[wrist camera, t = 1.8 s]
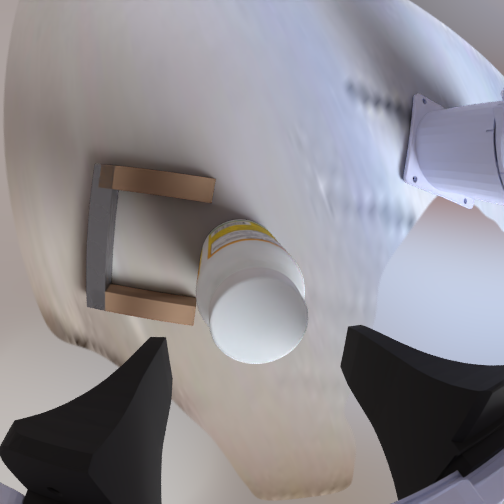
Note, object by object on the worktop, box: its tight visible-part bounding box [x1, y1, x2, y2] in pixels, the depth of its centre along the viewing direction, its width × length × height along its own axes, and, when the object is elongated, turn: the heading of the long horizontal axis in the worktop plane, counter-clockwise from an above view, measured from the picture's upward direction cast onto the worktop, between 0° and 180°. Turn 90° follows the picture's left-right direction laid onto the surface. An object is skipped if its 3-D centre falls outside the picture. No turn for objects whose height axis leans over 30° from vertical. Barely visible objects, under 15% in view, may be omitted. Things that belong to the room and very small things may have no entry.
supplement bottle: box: [196, 219, 308, 364], centre depth 16 cm, size 5×5×10 cm
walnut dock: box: [86, 164, 216, 326], centre depth 19 cm, size 8×10×2 cm
